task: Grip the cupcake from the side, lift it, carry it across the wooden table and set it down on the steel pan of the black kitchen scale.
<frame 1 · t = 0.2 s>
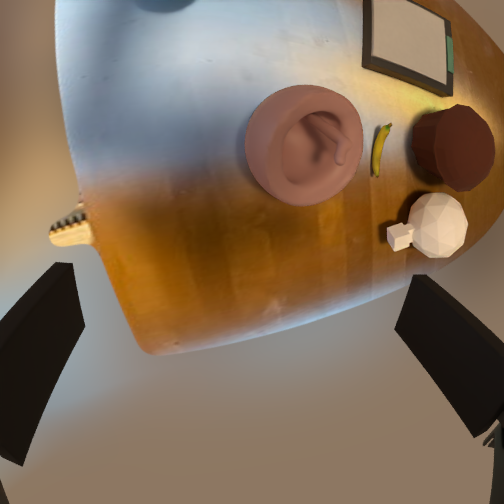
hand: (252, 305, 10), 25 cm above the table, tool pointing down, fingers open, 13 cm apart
fruit: (374, 149, 34), on the table
mortar and pestle: (291, 143, 32), on the table
scale: (406, 41, 28), on the table
white geodesic ball: (411, 214, 38), on the table
muffin: (433, 143, 34), on the table
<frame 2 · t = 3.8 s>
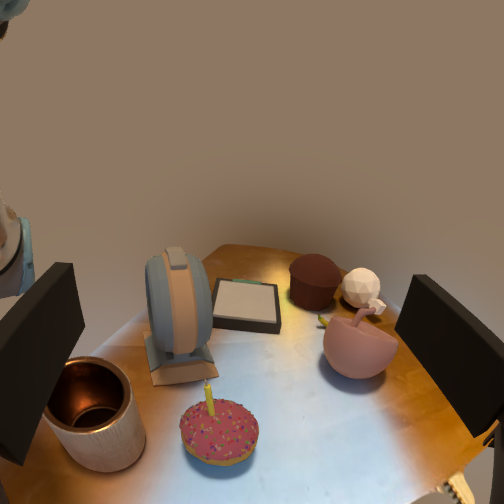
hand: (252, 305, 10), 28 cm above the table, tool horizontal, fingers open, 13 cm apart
fruit: (331, 329, 55), on the table
mortar and pestle: (349, 368, 45), on the table
planter: (104, 438, 27), on the table
scale: (244, 308, 58), on the table
white geodesic ball: (357, 308, 62), on the table
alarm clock: (177, 354, 44), on the table
cupcake: (218, 448, 29), on the table
muffin: (309, 300, 64), on the table
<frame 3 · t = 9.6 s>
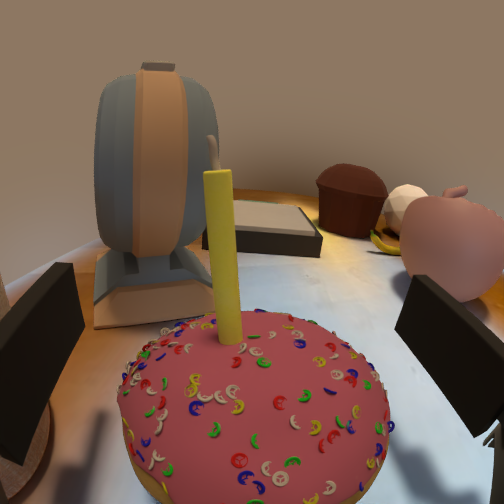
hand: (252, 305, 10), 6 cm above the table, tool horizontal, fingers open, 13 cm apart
fruit: (388, 255, 36), on the table
mortar and pestle: (437, 296, 26), on the table
scale: (258, 233, 39), on the table
white geodesic ball: (407, 239, 44), on the table
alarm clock: (150, 282, 24), on the table
cupcake: (246, 469, 10), on the table
muffin: (344, 229, 45), on the table
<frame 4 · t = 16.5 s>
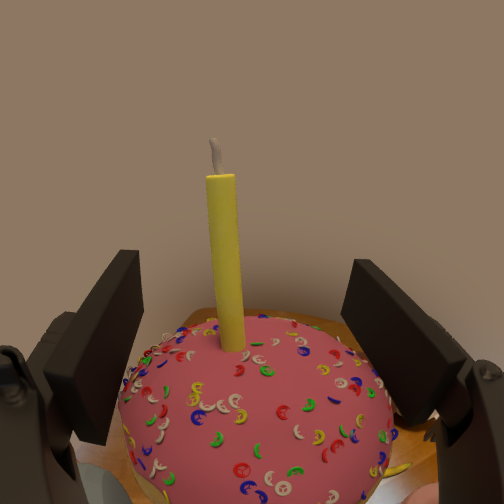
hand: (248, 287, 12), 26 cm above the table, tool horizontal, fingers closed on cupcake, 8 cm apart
fruit: (382, 475, 24), on the table
cupcake: (248, 473, 10), point 19 cm above the table, touching gripper
when the fingers open (9 cm above the table, at t = 22.7 s): cupcake stays where it is, resting on scale.
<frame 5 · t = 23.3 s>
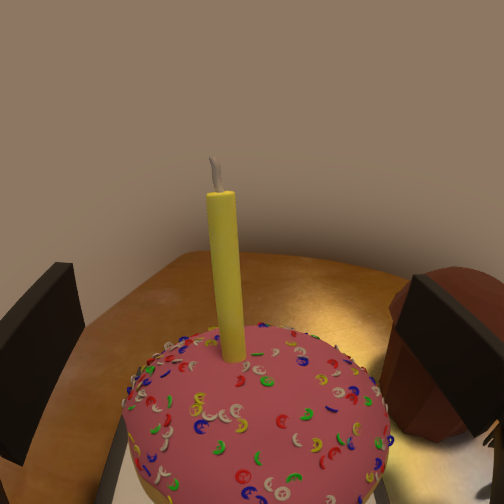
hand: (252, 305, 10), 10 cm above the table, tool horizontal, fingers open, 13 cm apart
scale: (242, 496, 11), on the table
cupcake: (249, 477, 10), point 3 cm above the table, touching scale
muffin: (426, 399, 17), on the table
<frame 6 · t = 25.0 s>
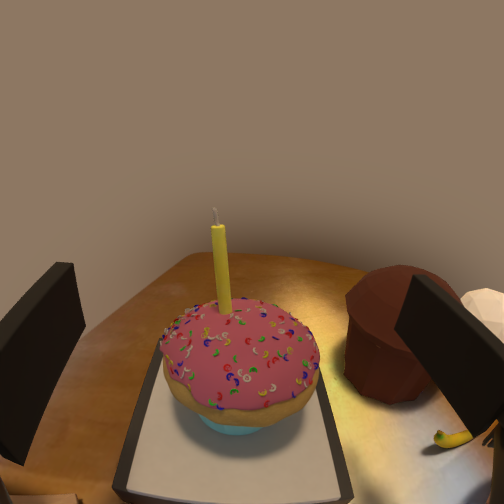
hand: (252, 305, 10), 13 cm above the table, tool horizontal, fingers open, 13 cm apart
fruit: (450, 445, 15), on the table
scale: (233, 430, 18), on the table
white geodesic ball: (470, 371, 23), on the table
cupcake: (236, 407, 17), point 3 cm above the table, touching scale
muffin: (384, 372, 24), on the table
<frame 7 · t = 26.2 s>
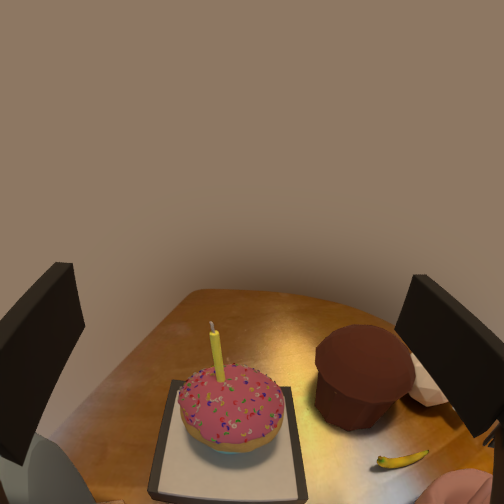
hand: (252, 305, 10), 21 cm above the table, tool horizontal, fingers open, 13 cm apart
fruit: (395, 465, 21), on the table
scale: (228, 448, 24), on the table
white geodesic ball: (427, 403, 29), on the table
cupcake: (230, 434, 23), point 3 cm above the table, touching scale
muffin: (349, 403, 30), on the table
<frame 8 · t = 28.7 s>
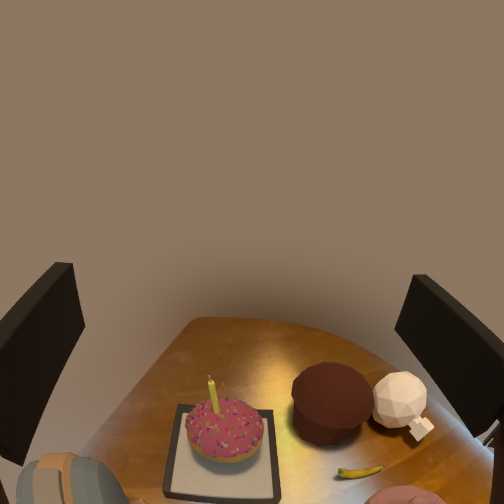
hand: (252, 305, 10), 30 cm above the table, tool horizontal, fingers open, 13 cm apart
fruit: (355, 476, 28), on the table
scale: (223, 457, 30), on the table
white geodesic ball: (390, 424, 36), on the table
cupcake: (224, 448, 29), point 3 cm above the table, touching scale
muffin: (321, 423, 37), on the table
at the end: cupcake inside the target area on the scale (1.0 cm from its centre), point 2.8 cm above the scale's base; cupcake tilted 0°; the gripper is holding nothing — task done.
